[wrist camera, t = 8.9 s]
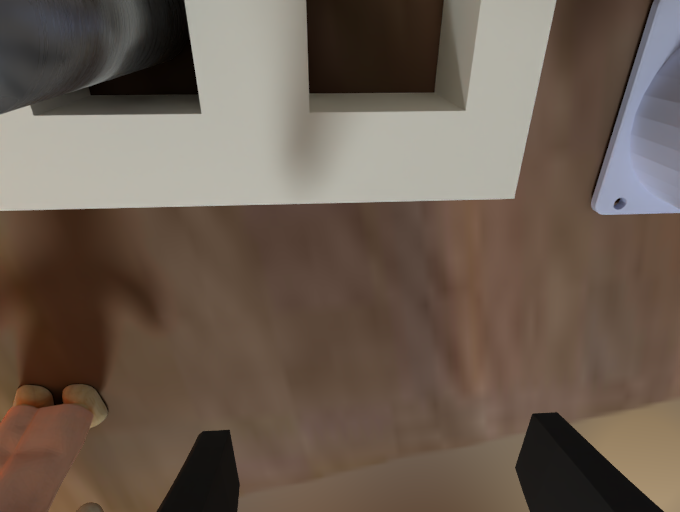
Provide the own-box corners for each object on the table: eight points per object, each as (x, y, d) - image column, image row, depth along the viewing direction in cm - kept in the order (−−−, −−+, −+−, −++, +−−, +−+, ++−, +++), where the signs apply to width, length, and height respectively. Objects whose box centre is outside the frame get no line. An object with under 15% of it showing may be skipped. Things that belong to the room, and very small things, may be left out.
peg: (186, -38, 13) (4, -121, 5) (193, 68, 14) (59, 129, 7) (83, -50, 13) (-277, -158, 5) (100, 59, 14) (-155, 113, 6)
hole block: (533, -183, 12) (610, -252, 9) (476, 165, 17) (514, 198, 14) (-70, -201, 11) (-214, -285, 8) (56, 173, 16) (-4, 210, 13)
